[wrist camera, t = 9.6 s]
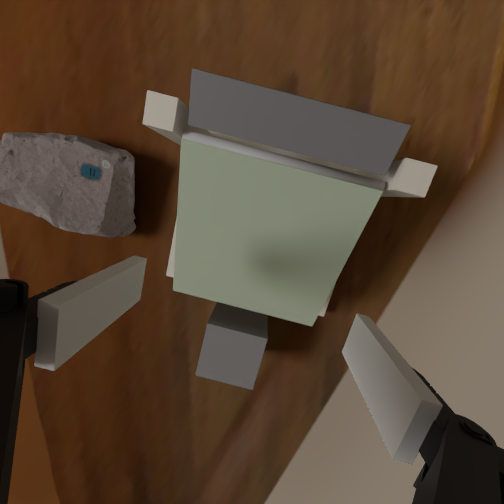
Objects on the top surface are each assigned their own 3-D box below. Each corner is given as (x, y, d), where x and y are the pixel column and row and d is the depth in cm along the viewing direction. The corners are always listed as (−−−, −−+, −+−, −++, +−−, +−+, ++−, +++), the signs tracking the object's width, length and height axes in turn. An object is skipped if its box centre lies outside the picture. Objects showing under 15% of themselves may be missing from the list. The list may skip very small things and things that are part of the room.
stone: (154, 158, 28) (124, 149, 22) (138, 239, 30) (106, 249, 25) (41, 123, 28) (-18, 104, 23) (33, 205, 30) (-23, 208, 25)
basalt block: (195, 375, 26) (210, 337, 33) (252, 390, 26) (255, 349, 33) (207, 323, 24) (220, 295, 31) (267, 339, 24) (267, 307, 31)
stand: (199, 118, 27) (151, 63, 16) (371, 163, 27) (447, 140, 16) (171, 271, 31) (115, 316, 20) (320, 310, 31) (351, 377, 20)
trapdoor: (198, 69, 17) (183, 66, 15) (401, 122, 17) (419, 127, 15) (182, 274, 27) (171, 292, 24) (310, 308, 27) (312, 329, 24)
